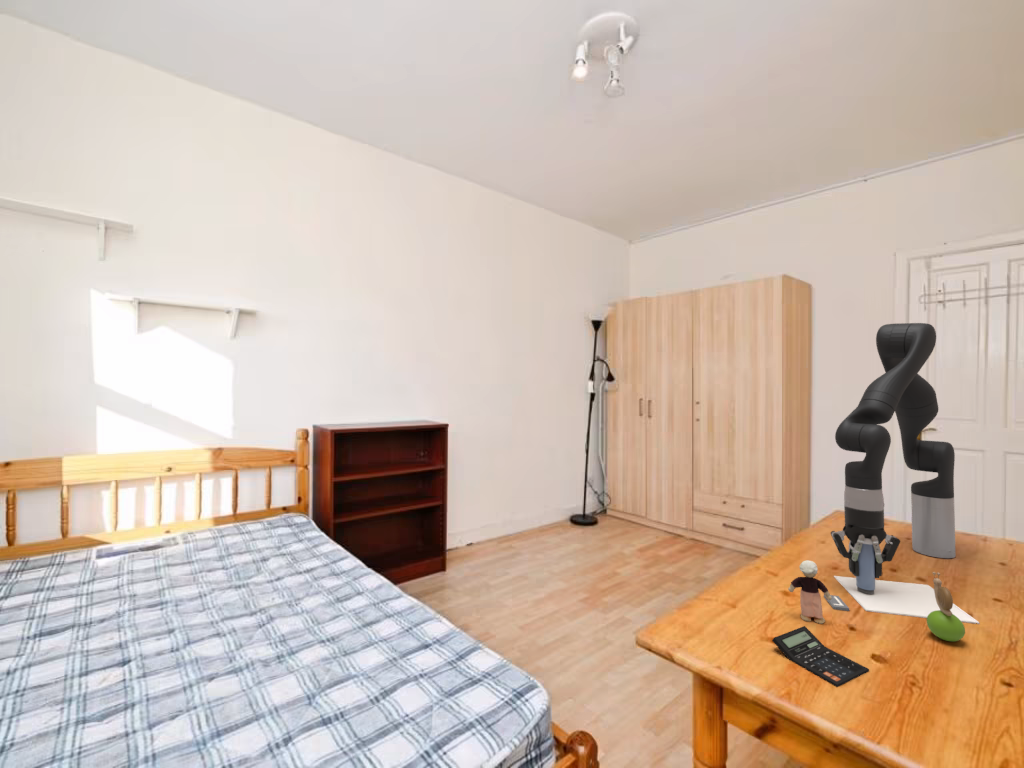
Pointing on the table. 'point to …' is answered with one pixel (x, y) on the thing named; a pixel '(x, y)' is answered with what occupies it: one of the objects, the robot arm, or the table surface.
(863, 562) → the grey-blue cylinder
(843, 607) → the letter card
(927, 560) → the table surface
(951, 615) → the snail figurine
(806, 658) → the calculator
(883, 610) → the paper
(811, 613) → the grandmother figurine
